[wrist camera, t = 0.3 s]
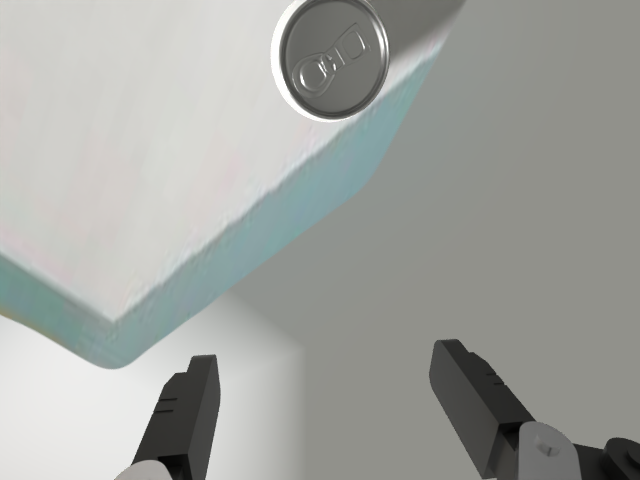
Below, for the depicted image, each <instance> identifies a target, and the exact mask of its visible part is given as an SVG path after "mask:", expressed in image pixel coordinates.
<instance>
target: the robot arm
mask: <svg viewBox="0 0 640 480" xmlns="http://www.w3.org/2000/svg"><path fill="white" fill-rule="evenodd" d="M429 378H430V383H431V387H432V389H433V391H434V393H435V395H436V397H437V398H438V400H439V402H440V404H441V406H442V407H443V409H444V411H445V413H446V415H447V416H448V418H449V420H450V421H451V423H452V425H453V427H454V429H455V431H456V432H457V434H458V436H459V437H460V440H461V442H462V443H463V445H464V447H465V449H466V451H467V452H468V454H469V456H470V458H471V460H472V461H473V463H474V465H475V467H476V468H477V470H478V472H479V474H480V476H481V477H482V479H490V478H497V480H640V444H639V443H637V442H634V441H632V440H628V439H625V438H612V439H609V440H608V442H607V444H606V446H605V448H604V450H603V449H598V448H593V447H588V446H582V445H578V444H573V443H571V441H570V440H569V439H568V438H567V437H566V436H565V435H563V434H562V433H561V432H560V431H558V430H557V429H555V428H553V427H551V426H549V425H547V424H544V423H541V422H537V421H536V420H535V419H534V418H533V417H532V416H531V414H530V413H529V412H528V411H527V410H526V408H525V407H524V406H523V405H522V404H521V402H520V401H519V400H518V399H517V398H516V396H515V395H514V394H513V393H512V392H511V390H510V389H509V388H508V387H507V385H504V382H503V381H502V379H501V378H500V377H499V376H498V375H496V372H495V371H494V370H493V369H492V368H491V366H490V365H489V364H488V363H487V362H486V361H485V360H483V359H482V358H480V357H479V356H478V355H476V354H475V353H474V352H470V353H469V352H468V351H467V350H466V348H465V347H464V346H463V345H462V343H461V342H460V341H459V340H457V339H450V340H437V341H436V342H435V344H434V349H433V355H432V361H431V366H430V372H429ZM219 406H220V382H219V374H218V366H217V358H216V355H200V356H193V357H192V358H191V361H190V364H189V367H188V370H187V372H183V373H175V374H174V375H173V376H172V378H171V379H170V380H169V381H168V382H167V383H166V384H165V385H164V387H163V390H162V392H161V394H160V397H159V400H158V402H157V404H156V407H155V409H154V411H153V412H154V413H153V414H152V417H151V419H150V421H149V424H148V426H147V428H146V431H145V433H144V436H143V438H142V441H141V443H140V445H139V448H138V450H137V453H136V455H135V457H134V460H133V462H132V464H131V466H130V467H128V468H127V469H125V470H124V471H123V472H121V473H120V474H119V475H118V476H117V477H116V478H115V479H114V480H205V478H206V473H207V468H208V463H209V458H210V452H211V447H212V442H213V437H214V432H215V427H216V422H217V417H218V412H219Z"/></svg>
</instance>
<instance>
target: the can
mask: <svg viewBox="0 0 640 480" xmlns="http://www.w3.org/2000/svg"><path fill="white" fill-rule="evenodd" d="M389 62H390V46H389V39H388V35H387V32H386V29H385V26H384V24H383V22H382V20H381V18H380V17H379V15H378V14H377V12H376V11H375V9H374V8H373V7H372V6H371V5H370V4H369V3H368V2H367V1H366V0H295V1H294V2H292V3H291V4H290V6H289V7H288V8H287V9H286V10H285V12H284V13H283V15H282V16H281V18H280V20H279V22H278V24H277V26H276V29H275V31H274V35H273V39H272V44H271V66H272V72H273V76H274V79H275V82H276V84H277V87H278V89H279V91H280V92H281V94H282V96H283V97H284V98H285V100H286V101H287V102H288V103H289V104H290V106H292V107H293V108H294V109H295V110H296V111H297V112H299V113H300V114H302V115H304V116H306V117H308V118H310V119H313V120H316V121H321V122H337V121H342V120H345V119H348V118H350V117H352V116H354V115H356V114H358V113H359V112H361V111H362V110H363V109H365V108H366V107H367V106H368V105H369V104H370V103H371V102H372V101H373V100H374V99H375V98H376V96H377V95H378V93H379V92H380V90H381V88H382V86H383V84H384V82H385V79H386V76H387V73H388V69H389Z"/></svg>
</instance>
